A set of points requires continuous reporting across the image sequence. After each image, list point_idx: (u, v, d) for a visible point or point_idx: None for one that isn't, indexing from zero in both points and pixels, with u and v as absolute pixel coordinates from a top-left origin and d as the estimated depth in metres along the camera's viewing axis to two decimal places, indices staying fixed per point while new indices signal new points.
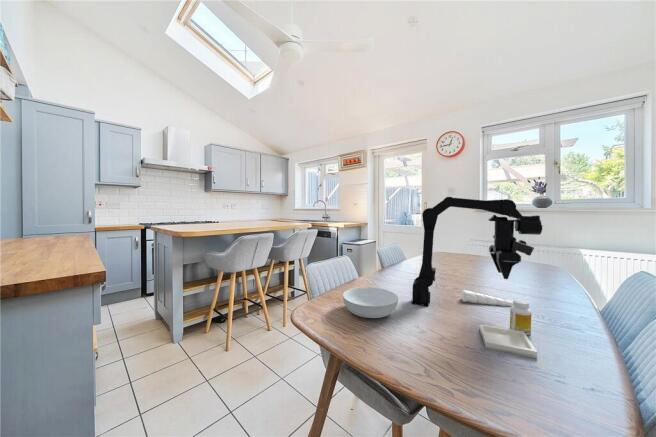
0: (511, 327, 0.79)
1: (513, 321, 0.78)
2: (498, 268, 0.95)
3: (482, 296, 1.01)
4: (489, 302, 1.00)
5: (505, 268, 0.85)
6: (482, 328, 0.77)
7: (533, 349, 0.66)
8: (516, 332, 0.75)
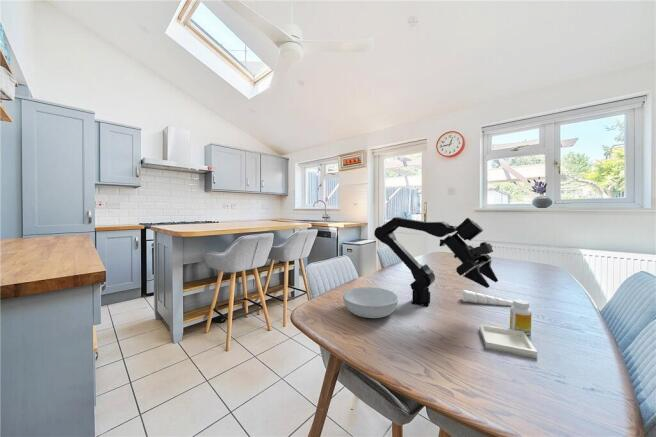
0: (511, 327, 0.79)
1: (513, 321, 0.78)
2: (492, 278, 0.88)
3: (482, 296, 1.01)
4: (489, 302, 1.00)
5: (476, 278, 0.83)
6: (482, 328, 0.77)
7: (533, 349, 0.66)
8: (516, 332, 0.75)
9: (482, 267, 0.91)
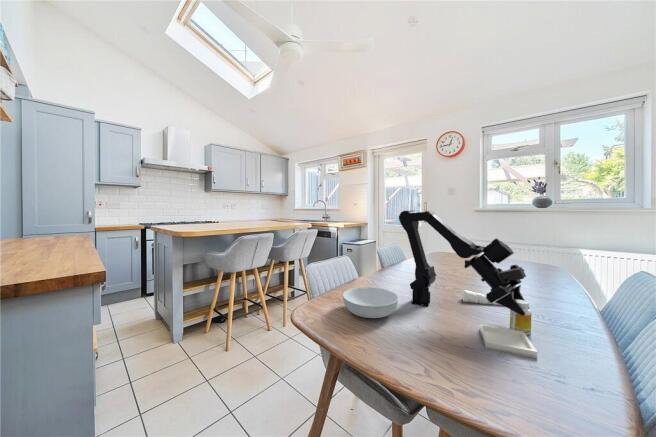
0: (511, 327, 0.79)
1: (513, 320, 0.78)
2: None
3: (483, 296, 1.01)
4: None
5: (510, 305, 0.77)
6: (482, 328, 0.77)
7: (533, 349, 0.66)
8: (516, 332, 0.75)
9: None
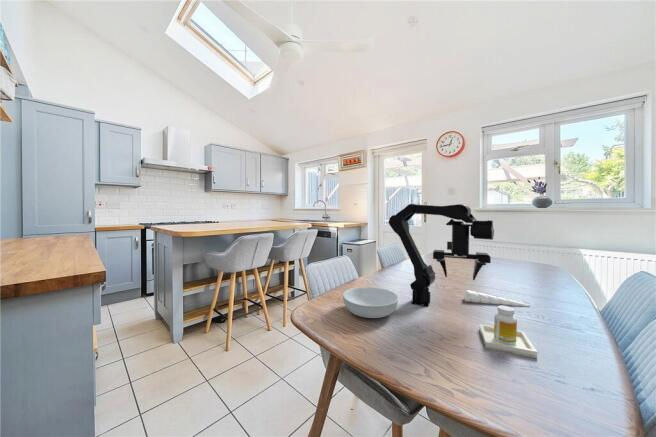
0: (495, 336, 0.73)
1: (497, 329, 0.72)
2: (446, 273, 0.94)
3: (485, 296, 1.02)
4: (492, 302, 1.01)
5: None
6: (482, 328, 0.77)
7: (533, 349, 0.66)
8: None
9: None
